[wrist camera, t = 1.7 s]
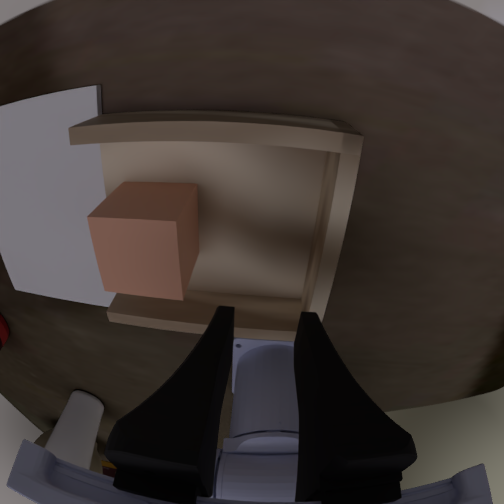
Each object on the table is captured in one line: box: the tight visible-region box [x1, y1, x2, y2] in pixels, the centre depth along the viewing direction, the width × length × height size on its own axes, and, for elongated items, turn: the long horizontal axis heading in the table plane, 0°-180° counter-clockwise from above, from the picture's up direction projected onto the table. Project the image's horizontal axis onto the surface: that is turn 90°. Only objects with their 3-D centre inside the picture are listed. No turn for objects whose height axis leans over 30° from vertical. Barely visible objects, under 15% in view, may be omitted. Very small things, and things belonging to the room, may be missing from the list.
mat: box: [0, 85, 116, 307], centre depth 21 cm, size 18×14×1 cm
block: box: [87, 182, 199, 301], centre depth 18 cm, size 5×5×5 cm
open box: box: [68, 110, 364, 341], centre depth 19 cm, size 14×15×4 cm
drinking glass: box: [44, 390, 104, 470], centre depth 31 cm, size 7×7×15 cm
